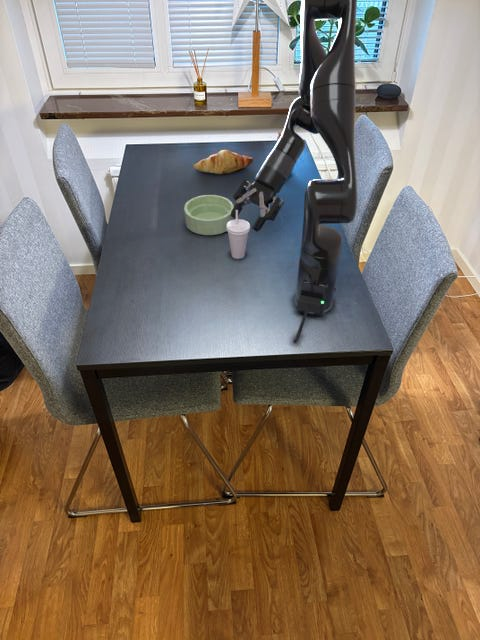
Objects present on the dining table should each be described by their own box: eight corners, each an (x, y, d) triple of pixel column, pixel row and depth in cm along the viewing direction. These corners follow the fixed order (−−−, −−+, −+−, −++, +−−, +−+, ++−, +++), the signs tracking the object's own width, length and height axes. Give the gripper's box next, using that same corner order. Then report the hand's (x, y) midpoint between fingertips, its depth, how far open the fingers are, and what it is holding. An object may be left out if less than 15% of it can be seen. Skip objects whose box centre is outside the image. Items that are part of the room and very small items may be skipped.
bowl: (225, 240, 147) (224, 224, 144) (178, 232, 150) (176, 215, 147) (239, 214, 158) (239, 199, 154) (195, 207, 161) (194, 191, 157)
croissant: (196, 184, 178) (196, 170, 171) (190, 160, 181) (191, 146, 174) (254, 176, 182) (257, 162, 174) (248, 153, 185) (250, 138, 177)
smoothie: (236, 245, 145) (236, 202, 136) (254, 254, 142) (255, 210, 133) (222, 255, 142) (221, 211, 132) (239, 264, 139) (240, 220, 129)
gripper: (249, 155, 135) (218, 208, 137) (289, 174, 128) (255, 230, 130) (263, 167, 142) (233, 218, 144) (301, 186, 134) (268, 239, 136)
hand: (243, 223), depth 137 cm, fingers open, 8 cm apart
